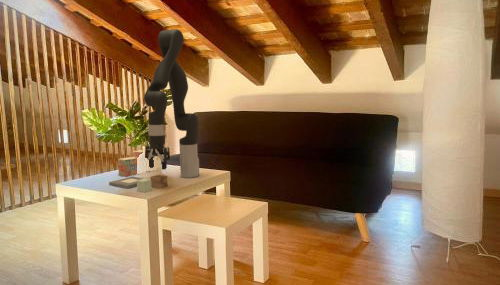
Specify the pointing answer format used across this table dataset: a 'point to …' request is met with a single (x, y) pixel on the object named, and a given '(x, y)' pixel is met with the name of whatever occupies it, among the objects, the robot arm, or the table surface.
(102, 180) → the table surface
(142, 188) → the sage block
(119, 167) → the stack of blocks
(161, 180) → the walnut block
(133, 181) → the base plate
